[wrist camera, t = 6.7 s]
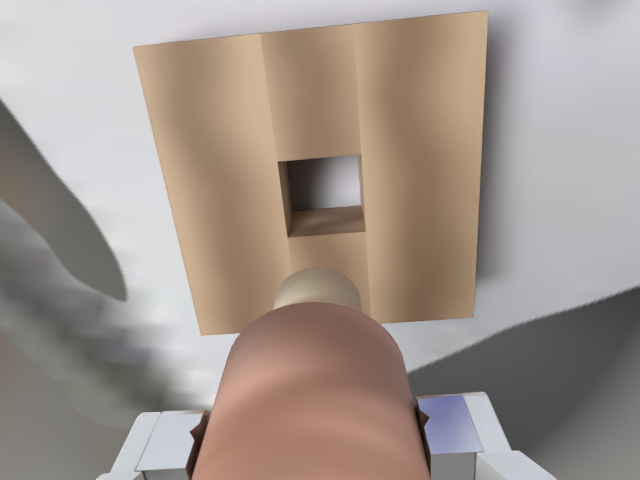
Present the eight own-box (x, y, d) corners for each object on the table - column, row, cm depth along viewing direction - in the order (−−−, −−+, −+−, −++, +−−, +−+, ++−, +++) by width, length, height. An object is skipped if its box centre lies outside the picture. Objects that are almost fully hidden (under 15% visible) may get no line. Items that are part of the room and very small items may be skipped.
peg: (386, 235, 14) (457, 480, 7) (390, 358, 16) (449, 661, 8) (236, 247, 15) (133, 498, 7) (257, 366, 16) (196, 670, 9)
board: (464, 12, 24) (488, 10, 21) (456, 282, 31) (473, 317, 27) (160, 43, 25) (132, 46, 22) (215, 300, 32) (201, 335, 28)
